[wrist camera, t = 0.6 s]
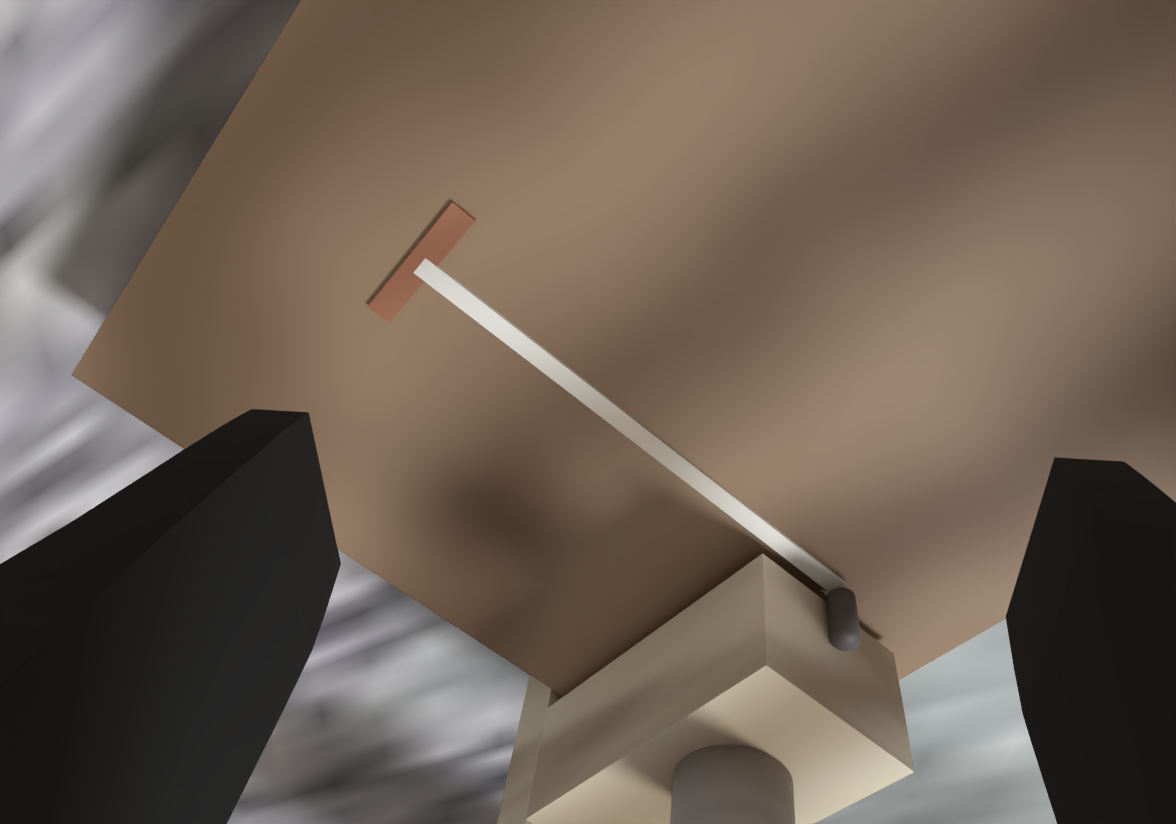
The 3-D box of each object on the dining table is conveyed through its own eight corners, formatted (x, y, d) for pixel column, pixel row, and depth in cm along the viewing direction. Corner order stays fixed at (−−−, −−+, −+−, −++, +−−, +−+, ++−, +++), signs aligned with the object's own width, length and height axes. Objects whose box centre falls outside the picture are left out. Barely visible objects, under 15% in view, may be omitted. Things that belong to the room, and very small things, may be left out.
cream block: (904, 584, 22) (997, 1046, 14) (643, 750, 27) (604, 1173, 19) (780, 486, 21) (807, 927, 13) (529, 676, 26) (436, 1092, 18)
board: (1512, 226, 17) (1599, 281, 15) (708, 727, 27) (706, 793, 25) (775, -712, 12) (783, -790, 10) (121, 328, 22) (69, 376, 20)
